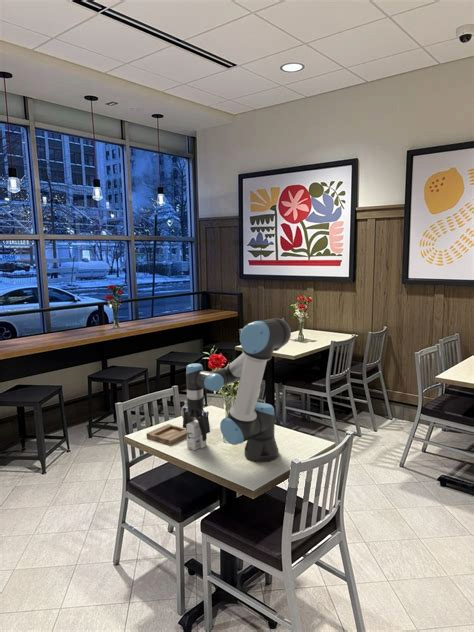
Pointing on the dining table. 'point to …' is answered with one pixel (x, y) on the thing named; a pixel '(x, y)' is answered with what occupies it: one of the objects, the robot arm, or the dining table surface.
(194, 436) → the ink box
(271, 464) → the dining table surface
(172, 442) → the tray
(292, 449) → the dining table surface
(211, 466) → the dining table surface
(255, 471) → the dining table surface
